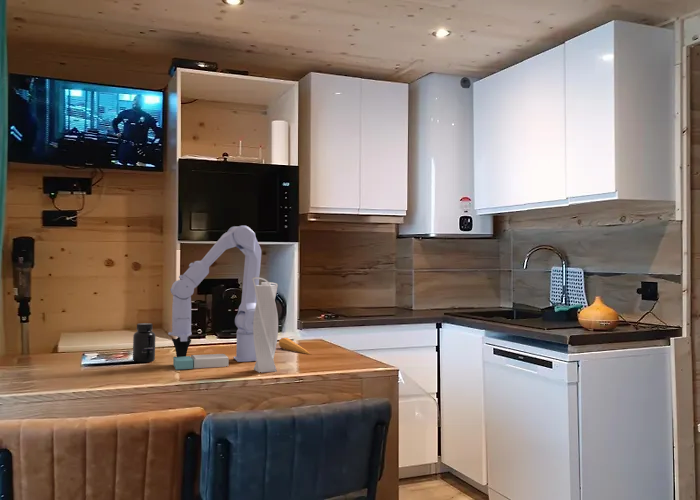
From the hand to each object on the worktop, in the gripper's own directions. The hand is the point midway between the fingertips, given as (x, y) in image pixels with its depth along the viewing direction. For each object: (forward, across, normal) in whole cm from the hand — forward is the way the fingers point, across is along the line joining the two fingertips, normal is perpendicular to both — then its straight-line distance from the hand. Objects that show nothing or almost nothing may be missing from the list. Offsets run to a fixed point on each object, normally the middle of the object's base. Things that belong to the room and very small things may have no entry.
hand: (181, 361), depth 194 cm
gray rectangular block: (+1, +4, +8) cm, 9 cm away
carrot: (+1, -15, +41) cm, 44 cm away
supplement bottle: (+1, -10, -11) cm, 15 cm away
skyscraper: (+1, +18, +22) cm, 29 cm away
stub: (+1, +5, 0) cm, 5 cm away
